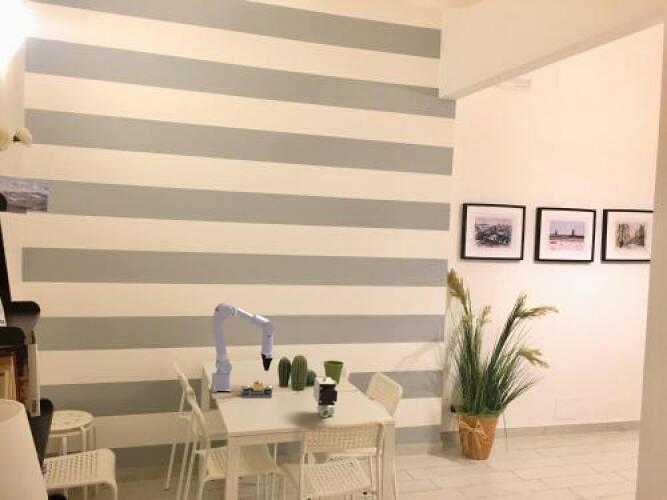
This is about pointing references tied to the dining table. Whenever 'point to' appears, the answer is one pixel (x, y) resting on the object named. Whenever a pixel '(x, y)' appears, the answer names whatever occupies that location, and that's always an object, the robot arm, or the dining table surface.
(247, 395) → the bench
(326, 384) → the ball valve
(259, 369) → the dining table surface
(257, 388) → the coupler
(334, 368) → the plant pot
